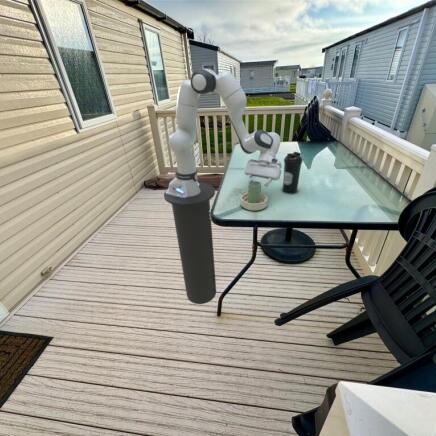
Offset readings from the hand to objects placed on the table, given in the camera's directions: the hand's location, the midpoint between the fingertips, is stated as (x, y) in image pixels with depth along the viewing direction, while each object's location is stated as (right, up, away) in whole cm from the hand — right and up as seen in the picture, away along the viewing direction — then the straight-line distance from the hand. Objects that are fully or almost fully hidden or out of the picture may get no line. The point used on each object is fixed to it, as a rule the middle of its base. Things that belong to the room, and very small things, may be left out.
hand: (257, 184), depth 131 cm
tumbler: (-2, -10, +2) cm, 11 cm away
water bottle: (+22, -2, +18) cm, 28 cm away
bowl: (-2, -11, +3) cm, 12 cm away
